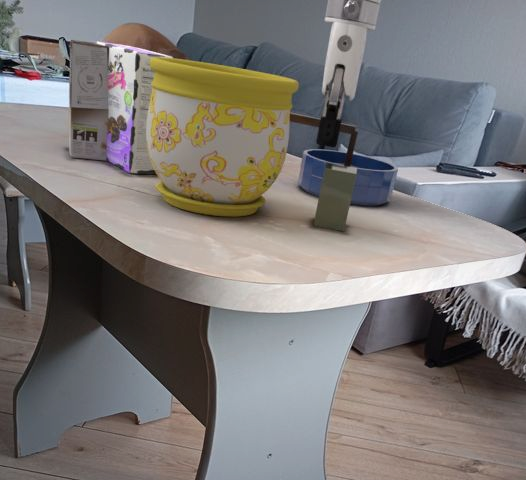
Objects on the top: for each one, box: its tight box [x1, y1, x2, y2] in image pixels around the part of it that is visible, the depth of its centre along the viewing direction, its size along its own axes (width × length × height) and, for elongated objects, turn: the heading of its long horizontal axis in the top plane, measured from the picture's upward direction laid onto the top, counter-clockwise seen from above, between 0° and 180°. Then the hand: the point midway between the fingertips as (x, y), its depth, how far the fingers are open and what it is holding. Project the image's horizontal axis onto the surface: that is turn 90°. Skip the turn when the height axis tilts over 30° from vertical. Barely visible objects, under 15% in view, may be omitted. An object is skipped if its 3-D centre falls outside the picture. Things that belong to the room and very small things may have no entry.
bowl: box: [297, 148, 399, 207], centre depth 100 cm, size 15×15×6 cm
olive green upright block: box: [313, 163, 357, 232], centre depth 80 cm, size 4×4×7 cm
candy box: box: [96, 41, 173, 175], centre depth 92 cm, size 14×6×16 cm, turn 36°
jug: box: [101, 22, 190, 60], centre depth 112 cm, size 20×20×30 cm
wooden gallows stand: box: [289, 111, 359, 168], centre depth 98 cm, size 14×5×9 cm, turn 81°
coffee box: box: [68, 39, 109, 162], centre depth 95 cm, size 9×6×16 cm
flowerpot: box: [146, 57, 300, 218], centre depth 78 cm, size 18×18×16 cm
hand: (326, 144), depth 98 cm, fingers closed on wooden gallows stand, 1 cm apart
